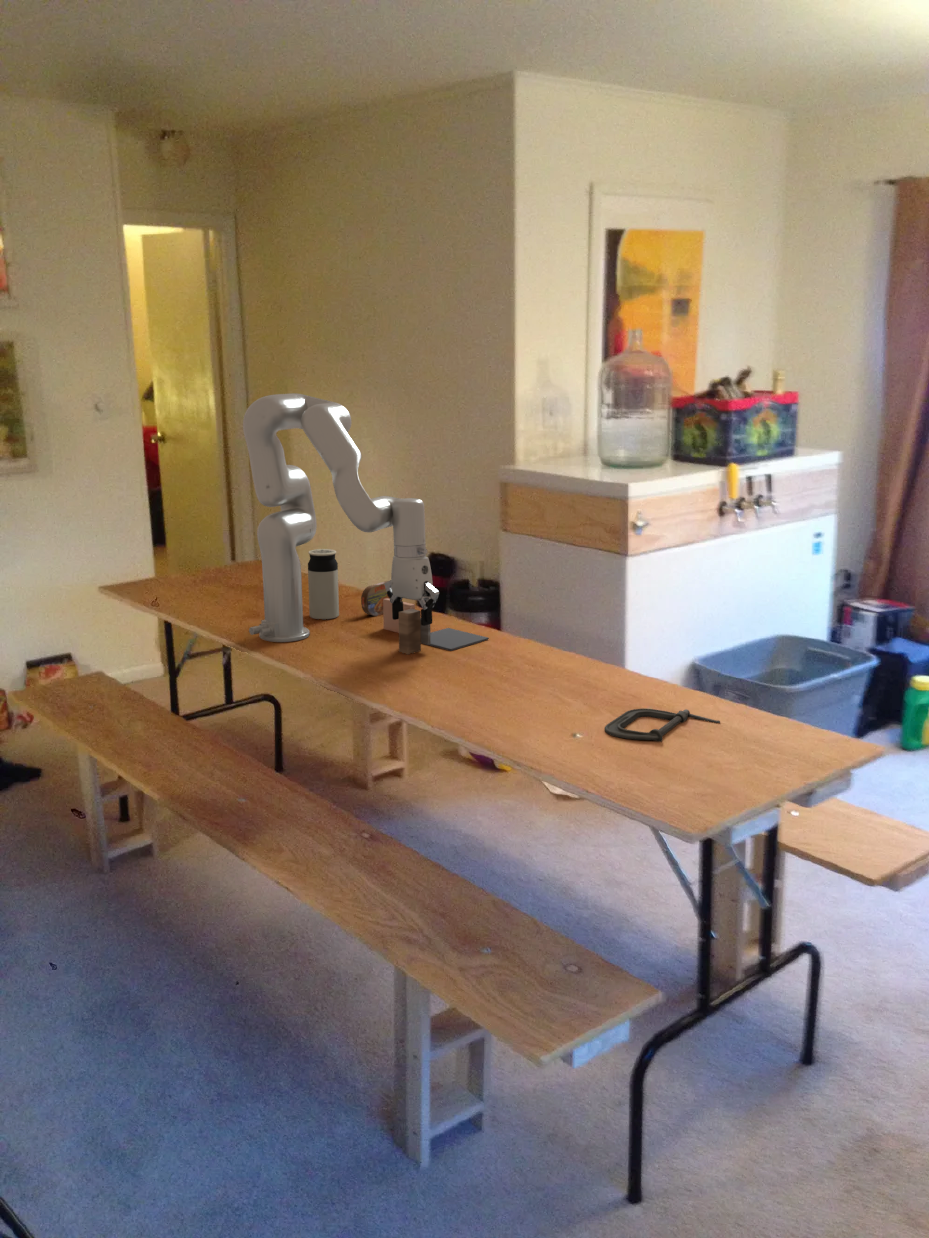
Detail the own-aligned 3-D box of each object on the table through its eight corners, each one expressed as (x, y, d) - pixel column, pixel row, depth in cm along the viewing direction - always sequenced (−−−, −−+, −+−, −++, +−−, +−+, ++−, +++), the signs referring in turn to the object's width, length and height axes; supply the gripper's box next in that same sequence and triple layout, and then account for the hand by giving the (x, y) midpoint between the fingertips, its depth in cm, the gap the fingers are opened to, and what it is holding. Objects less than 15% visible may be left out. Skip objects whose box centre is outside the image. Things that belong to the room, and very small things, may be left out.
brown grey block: (415, 656, 254) (414, 615, 252) (391, 650, 259) (391, 610, 257) (430, 652, 258) (430, 611, 255) (407, 645, 263) (406, 606, 261)
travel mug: (336, 620, 287) (335, 554, 282) (307, 620, 287) (305, 554, 282) (340, 613, 294) (339, 548, 290) (312, 612, 295) (309, 548, 290)
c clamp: (643, 707, 221) (643, 694, 221) (720, 725, 211) (721, 712, 210) (591, 734, 206) (592, 721, 205) (673, 755, 196) (673, 741, 195)
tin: (367, 618, 289) (367, 588, 287) (359, 617, 291) (358, 586, 289) (404, 608, 300) (403, 578, 298) (395, 606, 302) (395, 577, 300)
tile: (410, 635, 272) (410, 605, 270) (383, 628, 279) (383, 599, 277) (415, 634, 273) (415, 604, 271) (388, 627, 280) (387, 598, 278)
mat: (450, 650, 259) (450, 649, 259) (410, 640, 268) (410, 638, 268) (488, 639, 269) (488, 637, 269) (448, 629, 278) (448, 627, 278)
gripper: (447, 552, 249) (449, 623, 253) (395, 545, 260) (398, 613, 265) (425, 557, 244) (427, 630, 248) (373, 549, 255) (376, 619, 259)
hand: (412, 621), depth 256 cm, fingers open, 9 cm apart
